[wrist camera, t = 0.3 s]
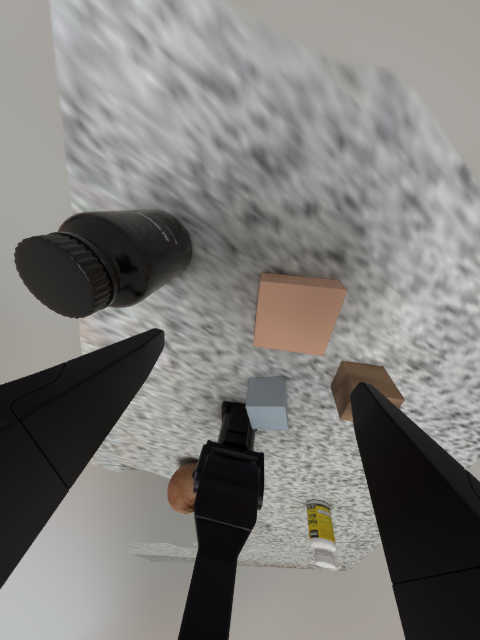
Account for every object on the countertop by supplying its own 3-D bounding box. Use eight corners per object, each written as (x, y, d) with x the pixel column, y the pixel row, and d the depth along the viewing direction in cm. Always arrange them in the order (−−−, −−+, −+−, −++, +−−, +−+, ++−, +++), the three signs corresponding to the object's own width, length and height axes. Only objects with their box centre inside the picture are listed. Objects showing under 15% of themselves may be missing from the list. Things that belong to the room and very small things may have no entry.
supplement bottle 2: (312, 497, 47) (319, 560, 39) (333, 503, 47) (345, 568, 39) (302, 503, 50) (307, 563, 42) (322, 510, 50) (331, 571, 42)
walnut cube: (367, 392, 27) (384, 426, 23) (330, 386, 28) (340, 419, 24) (382, 366, 25) (405, 400, 20) (341, 360, 25) (354, 392, 21)
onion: (208, 447, 49) (211, 490, 40) (209, 476, 51) (213, 522, 42) (168, 455, 47) (161, 502, 38) (172, 484, 50) (166, 535, 40)
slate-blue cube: (286, 398, 31) (288, 430, 26) (255, 398, 32) (252, 428, 28) (283, 376, 28) (284, 406, 24) (250, 377, 29) (245, 406, 25)
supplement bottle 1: (193, 214, 19) (98, 228, 9) (192, 280, 23) (124, 343, 13) (127, 203, 19) (-36, 204, 9) (137, 269, 23) (28, 322, 13)
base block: (318, 340, 24) (323, 355, 22) (255, 331, 25) (253, 346, 23) (338, 279, 20) (347, 289, 18) (262, 271, 21) (260, 281, 19)
